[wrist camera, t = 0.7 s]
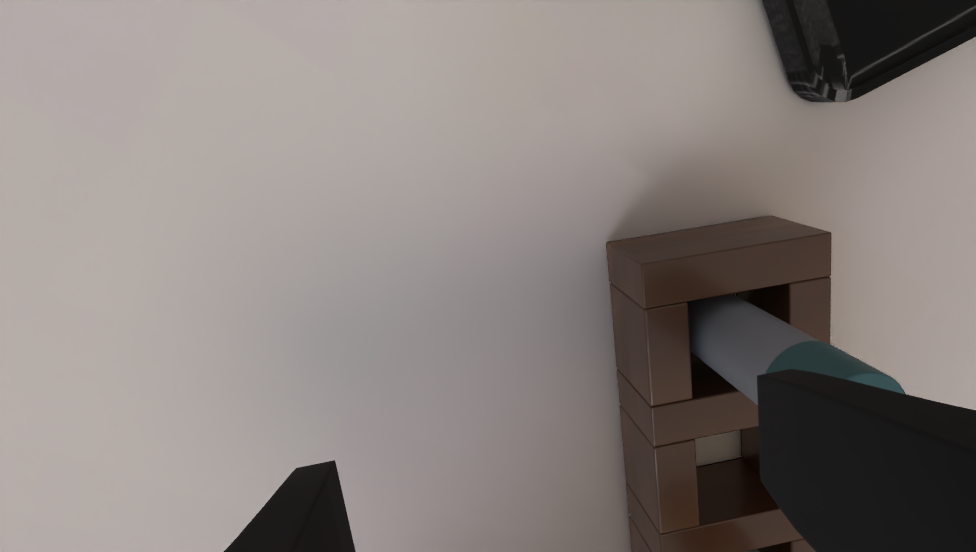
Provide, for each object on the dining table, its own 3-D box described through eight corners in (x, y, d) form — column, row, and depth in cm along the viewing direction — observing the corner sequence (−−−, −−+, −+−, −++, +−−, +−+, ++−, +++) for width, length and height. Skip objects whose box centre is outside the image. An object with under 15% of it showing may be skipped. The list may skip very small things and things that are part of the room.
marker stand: (777, 581, 25) (828, 642, 22) (636, 613, 25) (670, 680, 22) (772, 214, 21) (832, 232, 19) (605, 242, 21) (641, 264, 18)
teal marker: (728, 337, 22) (907, 459, 15) (662, 349, 22) (811, 479, 14) (725, 272, 22) (911, 363, 14) (658, 283, 21) (811, 383, 14)
